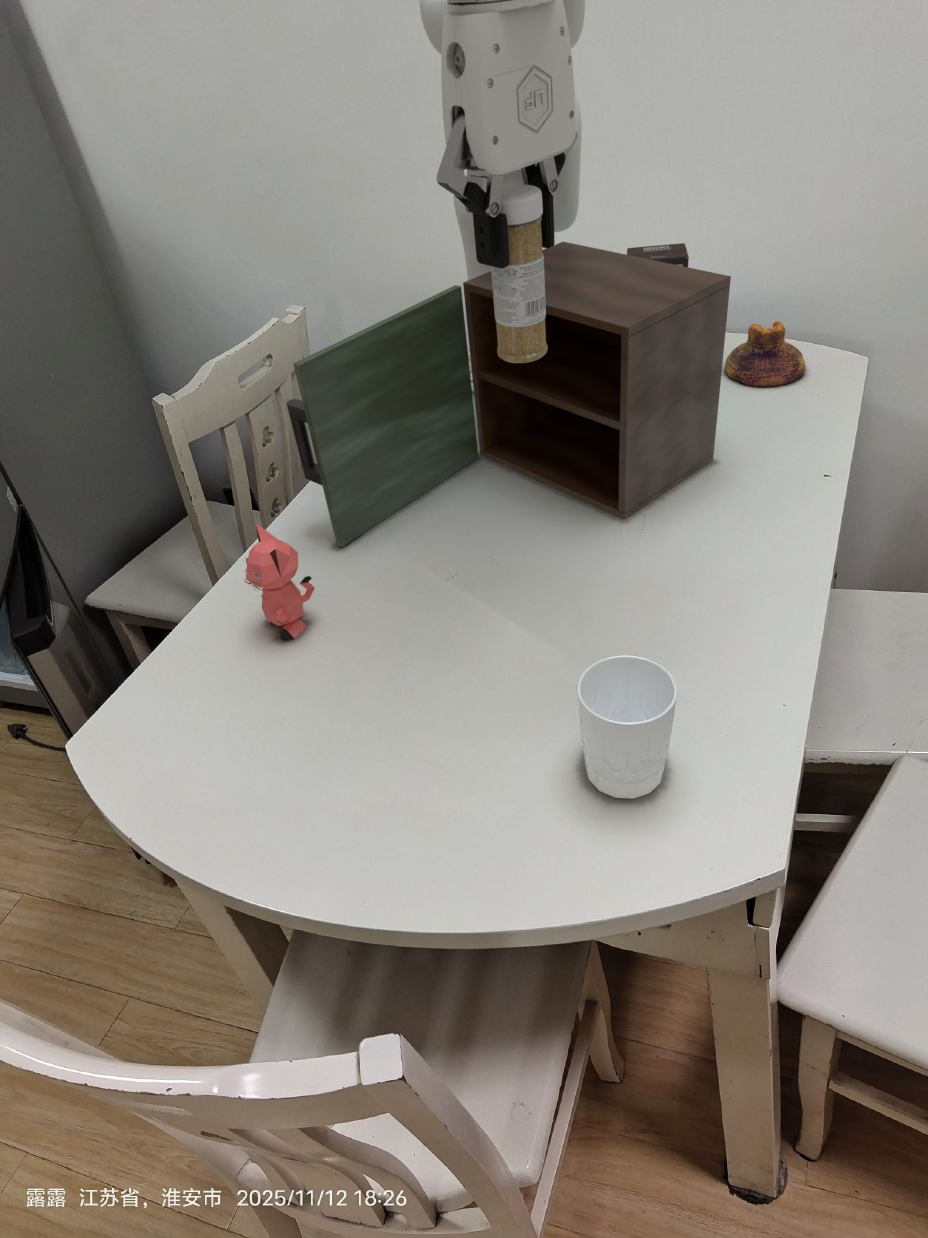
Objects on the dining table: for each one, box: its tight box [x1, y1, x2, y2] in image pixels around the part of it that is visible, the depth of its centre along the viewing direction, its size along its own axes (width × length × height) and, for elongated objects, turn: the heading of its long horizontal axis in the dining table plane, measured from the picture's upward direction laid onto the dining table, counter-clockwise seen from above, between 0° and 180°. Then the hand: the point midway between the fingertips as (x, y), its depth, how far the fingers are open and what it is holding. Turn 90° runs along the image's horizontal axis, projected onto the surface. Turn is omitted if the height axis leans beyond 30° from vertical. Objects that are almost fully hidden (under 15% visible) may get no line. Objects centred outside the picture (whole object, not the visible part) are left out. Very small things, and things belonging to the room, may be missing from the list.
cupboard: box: [462, 241, 732, 521], centre depth 109 cm, size 18×26×24 cm
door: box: [285, 284, 479, 548], centre depth 107 cm, size 7×26×24 cm, turn 138°
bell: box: [724, 321, 806, 387], centre depth 129 cm, size 12×12×7 cm
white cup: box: [576, 654, 678, 800], centre depth 72 cm, size 8×8×10 cm
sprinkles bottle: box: [491, 185, 548, 363], centre depth 71 cm, size 5×5×14 cm
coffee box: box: [626, 242, 690, 268], centre depth 135 cm, size 9×6×16 cm
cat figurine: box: [242, 523, 315, 642], centre depth 91 cm, size 7×7×12 cm
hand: (516, 252), depth 70 cm, fingers closed on sprinkles bottle, 4 cm apart
